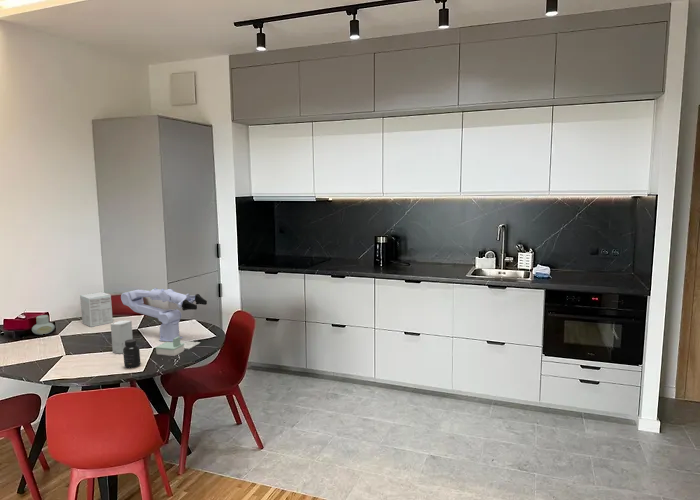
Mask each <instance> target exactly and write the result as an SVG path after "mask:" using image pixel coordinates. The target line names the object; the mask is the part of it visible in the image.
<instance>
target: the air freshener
mask: <svg viewBox="0 0 700 500" xmlns="http://www.w3.org/2000/svg"><path fill="white" fill-rule="evenodd" d="M35 319H36V320H35V321H36V324H34V325H33V326H32V327H31V331H32V333H33V334H34V335H40V336H41V335H42V336H44V335H43V334H45V335H47V334H48V335H49V334H51V333H52V332H53V331H55V328H56V326H55V324H54V323H52V322H50V318H49V315H48V314H42V315H38V316H36V317H35Z"/></svg>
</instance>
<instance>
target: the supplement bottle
mask: <svg viewBox="0 0 700 500" xmlns="http://www.w3.org/2000/svg"><path fill="white" fill-rule="evenodd" d="M122 355H123V365H124V368H126V369H135V368H138V367H140V365H141V352H140V346H139V345H138V343H137V339H134V338H133V339H130V340H126V341H125V347H124V348H123V354H122Z"/></svg>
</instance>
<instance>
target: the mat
mask: <svg viewBox="0 0 700 500" xmlns="http://www.w3.org/2000/svg"><path fill="white" fill-rule="evenodd" d="M180 343H184V350H190V349H192V348H194V347H196V346H197V345H199V344H201V342H200V341H189V340H188V341H187V340H180Z"/></svg>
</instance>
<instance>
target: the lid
mask: <svg viewBox="0 0 700 500" xmlns="http://www.w3.org/2000/svg"><path fill="white" fill-rule="evenodd" d="M180 337H181V336H180ZM180 337H176V338H174V339H173V342H169V341H164V342H163V343H161V344H159V345H157V346H155V350H156V349H164V350H176V349H178V348H180V347H182V346H183V345H184V343H180V341H181V339H180Z"/></svg>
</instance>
